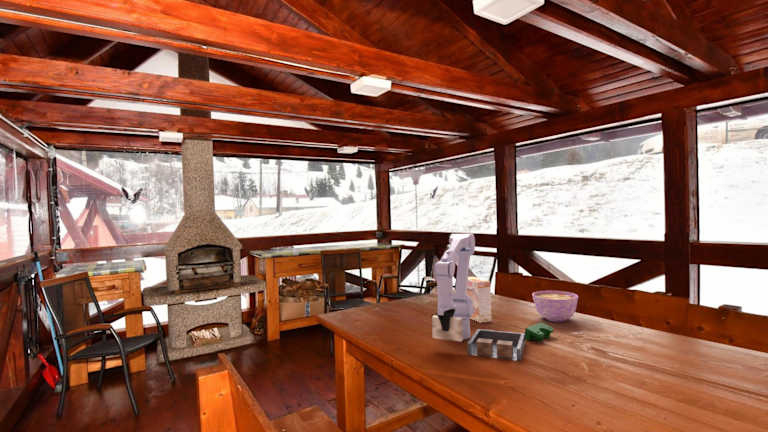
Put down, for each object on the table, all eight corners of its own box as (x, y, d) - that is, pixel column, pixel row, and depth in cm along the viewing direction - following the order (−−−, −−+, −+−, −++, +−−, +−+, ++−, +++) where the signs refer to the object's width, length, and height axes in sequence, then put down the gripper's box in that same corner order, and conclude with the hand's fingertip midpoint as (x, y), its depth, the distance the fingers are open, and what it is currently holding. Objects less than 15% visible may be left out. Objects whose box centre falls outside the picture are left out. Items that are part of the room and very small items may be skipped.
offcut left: (477, 354, 135) (476, 341, 135) (479, 350, 138) (478, 338, 138) (491, 355, 133) (490, 343, 133) (493, 351, 136) (492, 339, 136)
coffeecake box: (463, 315, 190) (461, 277, 190) (475, 314, 192) (473, 276, 192) (479, 323, 175) (477, 281, 176) (492, 321, 178) (490, 280, 178)
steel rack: (467, 357, 135) (467, 343, 135) (478, 341, 151) (477, 329, 151) (520, 363, 127) (520, 349, 127) (525, 346, 143) (524, 333, 143)
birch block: (432, 338, 141) (432, 316, 141) (434, 336, 143) (434, 315, 143) (461, 341, 136) (460, 319, 136) (463, 339, 139) (462, 318, 139)
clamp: (538, 355, 145) (536, 337, 142) (524, 347, 150) (523, 330, 146) (555, 337, 151) (554, 320, 147) (541, 330, 156) (540, 314, 152)
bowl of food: (523, 317, 182) (522, 293, 182) (553, 311, 190) (552, 289, 190) (558, 328, 163) (557, 301, 163) (589, 320, 172) (588, 295, 172)
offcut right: (497, 356, 132) (496, 343, 132) (498, 352, 135) (498, 340, 135) (511, 358, 130) (511, 345, 130) (513, 354, 133) (512, 341, 133)
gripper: (450, 298, 132) (452, 336, 132) (460, 290, 145) (462, 325, 145) (431, 297, 135) (433, 334, 135) (443, 289, 148) (444, 323, 148)
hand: (446, 329), depth 140 cm, fingers closed on birch block, 2 cm apart
